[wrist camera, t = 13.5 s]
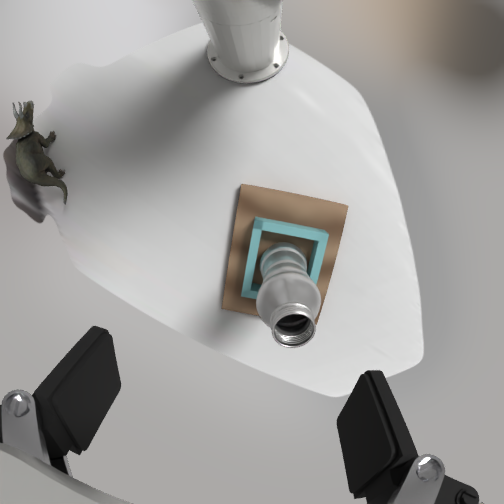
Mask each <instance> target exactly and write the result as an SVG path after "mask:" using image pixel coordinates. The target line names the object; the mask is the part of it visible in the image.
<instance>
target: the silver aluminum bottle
mask: <svg viewBox="0 0 504 504" xmlns="http://www.w3.org/2000/svg"><path fill="white" fill-rule="evenodd" d="M260 271H261V274H262V277H263V283H262V285H261V287H260V289H259V292H258V295H257V300H256V308H257V311H258V314H259V316H260V317H261V319H262V321H263V322H264V323H265V324H266V325H267V326H268V327H270V328H271V330H272V335H273V338H274V339H275V341H276V342H277V343H278V344H280V345H282V346H284V347H288V348H295V347H300V346H303V345H305V344H306V343H308V342H309V341H310V340H311V339H312V338H313V336H314V334H315V331H316V325H315V318H316V317H317V315H318V313H319V309H320V305H321V295H320V292H319V289H318V287H317V286H316V284H315V283H314V282H313V280H312V279H311V278H310V277H309V276H308V274H307V260H306V257H305V255H304V253H303V252H302V250H301V249H300V248H298V247H297V246H295V245H293V244H291V243H287V242H280V243H276V244H274V245H272V246H270V247H269V248H268V249H267V250H266V251H265V252H264V254H263V255H262V257H261V260H260Z"/></svg>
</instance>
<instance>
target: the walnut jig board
mask: <svg viewBox="0 0 504 504" xmlns="http://www.w3.org/2000/svg"><path fill="white" fill-rule="evenodd" d="M347 210H348V206H347V205H344V204H340V203H336V202H331V201H327V200H322V199H318V198H313V197H309V196H304V195H299V194H294V193H289V192H284V191H279V190H274V189H268V188H263V187H257V186H252V185H246V184H241V190H240V195H239V201H238V207H237V213H236V219H235V225H234V231H233V238H232V244H231V250H230V256H229V263H228V269H227V276H226V282H225V289H224V296H223V302H222V309H225V310H230V311H236V312H241V313H247V314H252V315H258V316H259V314H258V311H257V308H256V300H257V295H258V292H259V289H260V287H261V285H262V283H263V277H262V274H261V271H260V260H261V257H262V255H263V254H264V252H265V251H266V250H267V249H268V248H269V247H270V246H272V245H274V244H276V243H280V242H287V243H291V244H293V245H295V246H297V247H298V248H300V249H301V250H302V252H303V253H304V255H305V257H306V260H307V274H308V276H309V277H310V278H311V279H312V280H313V282H314V283H315V284H316V286H317V287H318V289H319V292H320V295H321V305H320V309H319V313H318V315H317V317H316V318H315V324H316V325H317V322H318V319H319V316H320V312H321V309H322V306H323V303H324V299H325V296H326V292H327V289H328V285H329V282H330V278H331V275H332V271H333V267H334V264H335V260H336V256H337V252H338V248H339V244H340V240H341V236H342V232H343V228H344V223H345V219H346V215H347Z"/></svg>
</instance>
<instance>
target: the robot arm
mask: <svg viewBox="0 0 504 504" xmlns="http://www.w3.org/2000/svg"><path fill="white" fill-rule="evenodd" d="M192 1H193V3H194V5H195V7H196V9H197V12H198V14H199V16H200V18H201V20H202V22H203V24H204V27H205V29H206V31H207V33H208V35H209V37H210V41H209V44H208V49H207V54H208V59H209V62H210V64H211V66H212V67H213V69H214V70H215V71H216V72H217V73H218V74H219V75H221V76H222V77H224V78H226V79H228V80H231V81H234V82H239V83H255V82H260V81H263V80H266V79H268V78H270V77H272V76H274V75H275V74H276V73H278V72H279V71H280V70H281V69H282V68H283V66H284V65H285V63H286V61H287V58H288V54H289V44H288V41H287V38H286V37H285V35H284V33H283V32H282V31H281V30H280V29H281V17H282V4H283V0H192ZM214 60H216V61H214ZM274 67H277V68H274ZM241 77H243V79H240V78H241ZM120 388H121V381H120V376H119V371H118V366H117V361H116V357H115V350H114V345H113V338H112V336H111V335H110V334H109V332H108V330H106V329H103V328H100V327H97V326H93V327H92V328H90V329H89V331H88V332H87V333H86V334H85V335H84V336H83V337H82V338H81V339H80V340H79V341H78V342H77V343H76V345H75V346H74V347H73V348H72V349H71V350H70V351H69V352H68V353H67V354H66V356H65V357H64V358H63V359H62V360H61V361H60V363H58V365H57V366H56V367H55V368H54V369H53V370H52V372H51V373H50V374H49V375H48V376H47V377H46V379H45V380H44V381H43V382H42V383H41V384H40V386H39V387H38V388H37V389H36V390H35V392H34V393H33V395H31V394H30V393H28V392H27V391H24V390H14V391H11V392H9V393H8V394H7V395H6V396H5V397H4V398H3V400H2V405H0V504H133V503H130V502H127V501H124V500H122V499H119V498H116V497H114V496H112V495H109V494H107V493H104V492H102V491H100V490H97V489H95V488H93V487H91V486H89V485H87V484H85V483H82V482H80V481H78V480H76V479H74V478H73V476H72V473H71V470H70V467H69V463H68V460H67V456H66V455H67V453H68V451H69V450H70V451H72V452H74V453H76V454H78V455H80V454H81V452H82V450H83V451H85V450H87V448H88V447H89V445H90V443H91V441H92V439H93V437H94V436H95V434H96V432H97V430H98V428H99V426H100V425H101V423H102V421H103V419H104V417H105V416H106V414H107V412H108V410H109V409H110V407H111V405H112V403H113V402H114V400H115V398H116V396H117V395H118V393H119V391H120ZM337 429H338V433H339V438H340V443H341V448H342V453H343V459H344V463H345V469H346V475H347V480H348V486H349V491H350V492H351V493H353V494H354V499H356V498H363V497H366V500H367V504H479V495H478V493H477V491H476V490H475V489H474V488H473V487H471V486H469V485H466V484H464V483H462V482H459V481H457V480H454V479H452V478H450V477H448V476H446V475H445V467H444V464H443V463H442V461H441V460H440V459H439V458H438V457H436V456H434V455H430V454H425V455H422V456H418V454H417V450H416V448H415V446H414V443H413V440H412V438H411V436H410V433H409V431H408V428H407V426H406V423H405V421H404V419H403V417H402V414H401V412H400V409H399V407H398V405H397V403H396V400H395V398H394V396H393V394H392V392H391V389H390V387H389V385H388V383H387V381H386V378H385V376H384V374H383V372H382V371H380V370H368V371H366V372H365V373H364V374H362V375H361V376H360V377H359V379H358V381H357V383H356V385H355V387H354V389H353V391H352V393H351V395H350V396H349V398H348V400H347V402H346V404H345V406H344V407H343V409H342V411H341V413H340V414H339V416H338V418H337ZM480 504H484V503H483V502H481V503H480Z"/></svg>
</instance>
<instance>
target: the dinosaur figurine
mask: <svg viewBox="0 0 504 504" xmlns="http://www.w3.org/2000/svg"><path fill="white" fill-rule="evenodd" d="M23 104H24V110H23V112H22V106H21V103H20V102H19V106H20V109H19V114H18V113H17V111H16V109H15V105H14V103H13V112H14V116H15V118H16V120H17V124H16V126H15V128H14V130H13V131H12V132H11V133H10V135H9V136H8V137H7V139H18V142H17V143H16V149H17V150H16V163H17V166H18V167H19V170H20V173H21V175H22V177H23V178H24V179H26V180H27V181H29V182H32V183H34V184H38V185H41V186H57V187H60V188H61V189H62V190H63V192H64V204H66V200H67V187H66V185H65V183H64V182H63V181H62V180H59V179H60V178H61V177H62V176H63V175H64V174H65V171H62V170H61V169H60V170H59V172H58V171H57V170H56V168H55V166H54V164H53V162H52V160H51V159H50V158H49V157H47V156H45V155H44V152H43V148H42V146H43V147H44V148H47V147H48V146H49V144H50V142H53V141H54V140H55V137H56V135H55V132H54V131H53V132H50V135H49V136H48V138H47V139H44V137H43V136H42V135H40V134H39V133H38V132H35V131H34V128H33V127H34V125H33V108H34V104H33V102H32V101H28V102H27V103H26V102H24V103H23ZM47 172H50V173H51V174H52V175H53V176H49V175H47Z"/></svg>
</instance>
